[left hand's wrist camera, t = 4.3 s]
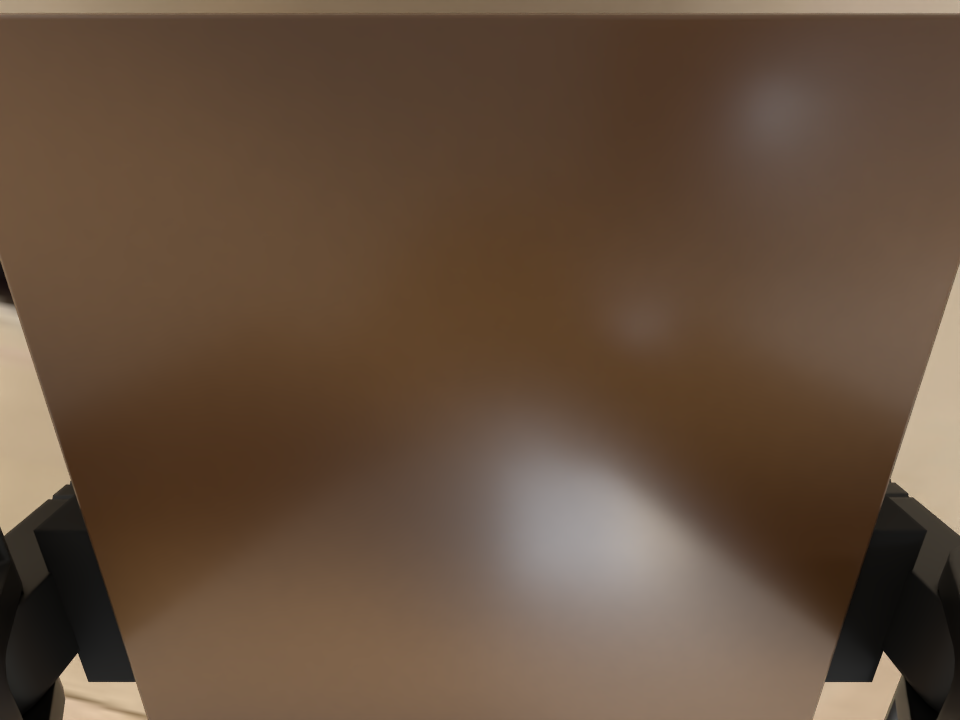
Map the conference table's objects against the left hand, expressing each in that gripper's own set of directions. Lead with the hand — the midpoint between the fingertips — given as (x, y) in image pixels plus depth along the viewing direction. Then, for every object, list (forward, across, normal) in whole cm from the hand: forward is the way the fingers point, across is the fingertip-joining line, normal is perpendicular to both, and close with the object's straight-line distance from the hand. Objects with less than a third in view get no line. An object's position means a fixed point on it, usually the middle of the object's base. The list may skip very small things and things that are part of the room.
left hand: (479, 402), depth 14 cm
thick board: (+1, 0, -34) cm, 34 cm away
